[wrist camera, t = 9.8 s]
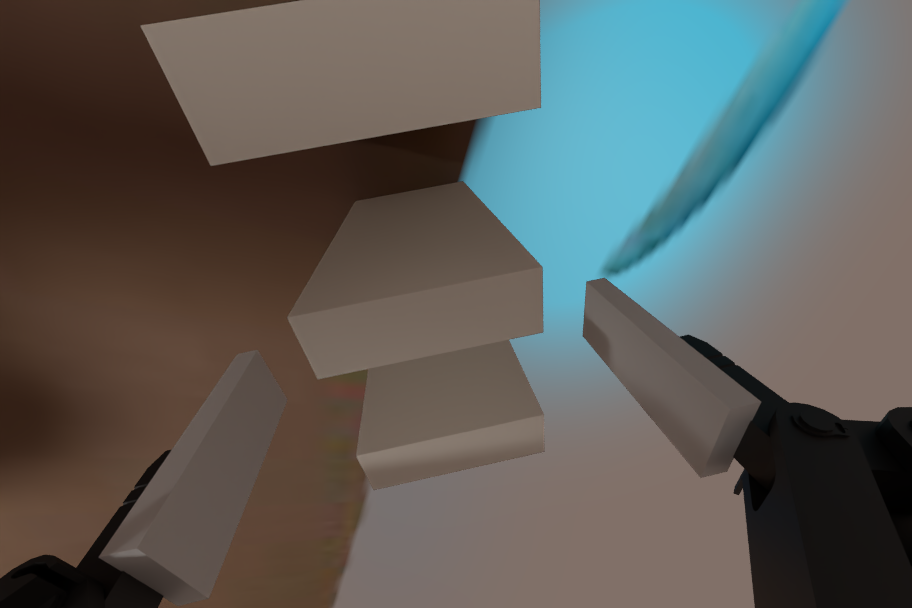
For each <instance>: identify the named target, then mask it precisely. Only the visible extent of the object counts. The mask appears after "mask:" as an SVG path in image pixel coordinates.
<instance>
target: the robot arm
mask: <svg viewBox="0 0 912 608" xmlns="http://www.w3.org/2000/svg"><path fill="white" fill-rule="evenodd" d="M583 337H584V338H585V339H586V340H587V342H588V343H589V344H590V345H591V346H592V347H593V349H594V350H595V351H596V352H597V354H598V355H599V356H600V357H601V358H602V360H603V361H604V362H605V363H606V365H607V366H608V367H609V368H610V369H611V370H612V372H613V373H614V374H615V375H616V376H617V378H618V379H619V380H620V381H621V383H622V384H623V385H624V386H625V387H626V389H628V391H629V392H630V393H631V395H632V396H633V397H634V398H635V399H636V401H637V402H638V403H639V404H640V405H641V407H642V408H643V409H644V410H645V411H646V413H647V414H648V415H649V416H650V417H651V419H652V420H653V421H654V422H655V423H656V425H657V426H658V427H659V428H660V429H661V431H662V432H663V433H664V434H665V435H666V437H667V438H668V439H669V440H670V442H671V443H672V444H673V445H674V446H675V448H676V449H677V450H678V451H679V452H680V454H681V455H682V456H683V457H684V458H685V460H686V461H687V462H688V463H689V464H690V466H691V467H692V468H693V469H694V470H695V472H696V473H697V474H698V475H699V476H700V477H701V478H702V477H706V476H710V475H714V474H719V473H722V472H727V471H728V468H729V467H730V464H731V462H732V460H733V458H735V459H736V460H737V461H738V462H739V463H740V464H741V465H742V466H743V467H744V471H743V473H742V474H741V476H740V478H739V480H738V482H737V484H736V486H735V489H734V494H737V495H739V494H740V492H741V490H742V488H743V492H744V503H745V513H746V522H747V533H748V543H749V552H750V563H751V573H752V583H753V593H754V603H755V608H912V407H900V408H899V407H897V408H895V409H893V410H890V411H889V412H888V413H887V414H886V416H885V417H884V418H883V419H882V421H881V422H873V421H855V420H841V419H840V418H839V417H837V416H835V415H833V414H831V413H829V412H827V411H825V410H823V409H820V408H817V407H814V406H811V405H808V404H801V403H789V402H787V401H786V400H784V399H783V398H782V397H780V396H779V395H777V394H776V393H775V392H773V391H772V390H771V389H769V388H768V387H767V386H765V385H764V384H763V383H761V382H760V381H759V380H757V379H756V378H754V377H753V376H752V375H750V374H749V373H748V372H746V371H745V370H744V369H742V368H741V367H740V366H738V365H737V366H736V365H735V363H734V362H733V361H731V360H730V359H729V358H727V357H726V356H723V355H722V353H721V352H719V351H718V350H716V349H715V348H714V347H712V346H711V345H709V344H708V343H707V342H704V341H702V340H700V339H697V338H695V337H692V336H691V335H685V336H681V337H679V336H677V335H676V334H675V333H674V332H672V331H671V330H670V329H669V328H667V327H666V326H665V325H663V324H662V323H661V322H660V321H658V320H657V319H656V318H655V317H653V316H652V315H651V314H650V313H648V312H647V311H646V310H644V309H643V308H642V307H641V306H640V305H638V304H637V303H636V302H634V301H633V300H632V299H631V298H629V297H628V296H627V295H626V294H624V293H623V292H622V291H621V290H619V289H618V288H617V287H615V286H614V285H613V284H612V283H610V282H609V281H608V280H607V279H605V278H601V279H597V280H592V281H587V282H586V296H585V310H584V325H583ZM286 402H287V398H286V396H285V395H284V393H283V391H282V390H281V388H280V386H279V385H278V383H277V381H276V380H275V378H274V376H273V375H272V373H271V371H270V370H269V368H268V366H267V365H266V363H265V361H264V360H263V358H262V356H261V355H260V353H259V351H258V350H254V351H250V352H245V353H240V354H237V355H236V357H235V358H234V360H233V361H232V363H231V364H230V365H229V367H228V368H227V370H226V371H225V373H224V374H223V376H222V377H221V379H220V380H219V382H218V383H217V384H216V386H215V387H214V389H213V390H212V392H211V393H210V395H209V396H208V398H207V399H206V401H205V402H204V403H203V405H202V406H201V408H200V409H199V411H198V412H197V414H196V415H195V417H194V418H193V420H192V421H191V423H190V424H189V425H188V427H187V428H186V430H185V431H184V433H183V434H182V436H181V437H180V439H179V440H178V442H177V443H176V444H175V446H174V447H173V449H172V450H168V451H165V452H164V453H163V454H162V455H161V456H160V457H159V458H158V459H157V460H156V461H155V462H154V463H153V464H152V465H151V466H150V467H148V468H147V470H146V471H145V473H144V474H143V475H142V477H141V478H140V480H139V481H138V482H137V484H136V485H135V487H134V488H135V489H134V490H133V491H131V492H130V494H129V495H128V496H127V498H126V499H125V501H124V502H123V506H121V507H120V508H119V509H118V510H117V512H116V513H115V515H114V516H113V517H112V519H111V520H110V522H109V523H108V524H107V526H106V527H105V528H104V530H103V531H102V533H101V534H100V535H99V537H98V538H97V540H96V541H95V542H94V544H93V545H92V547H91V548H90V549H89V551H88V552H87V554H86V555H85V556H84V558H83V559H82V561H81V562H80V563H79V565H78V566H77V568H75V567H73V566H72V565H70V564H68V563H66V562H64V561H63V560H61V559H59V558H57V557H56V556H53V555H42V556H39V557H36V558H33V559H30V560H28V561H27V562H25V563H23V564H21V565H19V566H18V567H16V568H14V569H12V570H11V571H10V572H8V573H7V574H6V575H4V576H3V577H2V578H0V608H158V606H159V604H160V602H161V600H162V598H163V597H164V598H165V599H167V600H169V601H170V602H172V603H173V604H175V605H177V606H180V605H184V604H188V603H192V602H196V601H200V600H204V599H208V598H209V597H210V594H211V592H212V589H213V587H214V584H215V582H216V579H217V577H218V574H219V572H220V569H221V567H222V564H223V562H224V559H225V556H226V554H227V551H228V549H229V546H230V544H231V541H232V539H233V536H234V534H235V531H236V529H237V526H238V524H239V521H240V519H241V516H242V514H243V511H244V509H245V506H246V503H247V501H248V498H249V496H250V493H251V491H252V488H253V486H254V483H255V481H256V478H257V476H258V473H259V471H260V468H261V466H262V463H263V461H264V458H265V455H266V453H267V450H268V448H269V445H270V443H271V440H272V438H273V435H274V433H275V430H276V428H277V425H278V423H279V420H280V418H281V415H282V413H283V410H284V408H285V405H286Z"/></svg>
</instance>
